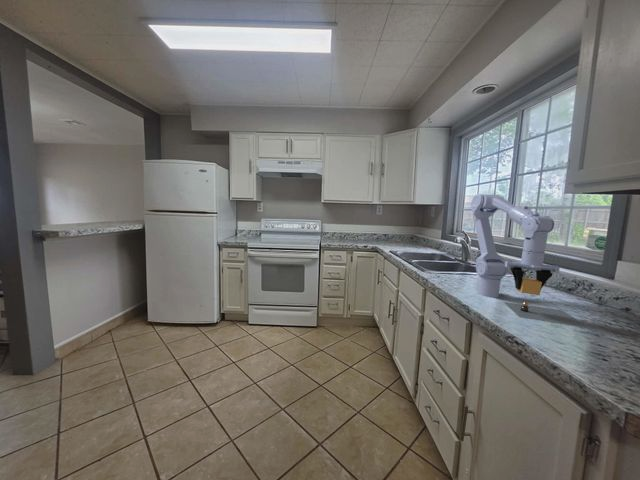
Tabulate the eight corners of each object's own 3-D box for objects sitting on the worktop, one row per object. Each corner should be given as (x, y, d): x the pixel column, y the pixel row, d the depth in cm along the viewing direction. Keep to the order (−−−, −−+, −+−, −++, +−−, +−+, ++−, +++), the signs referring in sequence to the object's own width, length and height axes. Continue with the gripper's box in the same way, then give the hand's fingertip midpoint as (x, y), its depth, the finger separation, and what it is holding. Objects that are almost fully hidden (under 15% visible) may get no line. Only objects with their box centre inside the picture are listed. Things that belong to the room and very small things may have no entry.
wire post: (519, 309, 87) (520, 301, 87) (526, 310, 86) (527, 302, 86) (522, 311, 85) (523, 303, 85) (529, 312, 84) (530, 304, 84)
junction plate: (502, 304, 94) (502, 301, 94) (561, 313, 88) (562, 310, 88) (519, 320, 80) (519, 317, 80) (590, 332, 74) (591, 328, 74)
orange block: (515, 288, 88) (517, 276, 87) (532, 290, 86) (534, 278, 86) (521, 292, 83) (523, 280, 83) (539, 295, 82) (541, 282, 81)
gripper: (512, 250, 82) (507, 290, 83) (567, 255, 77) (560, 296, 79) (504, 248, 88) (499, 284, 90) (555, 252, 84) (548, 290, 85)
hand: (527, 289), depth 85 cm, fingers closed on orange block, 5 cm apart
